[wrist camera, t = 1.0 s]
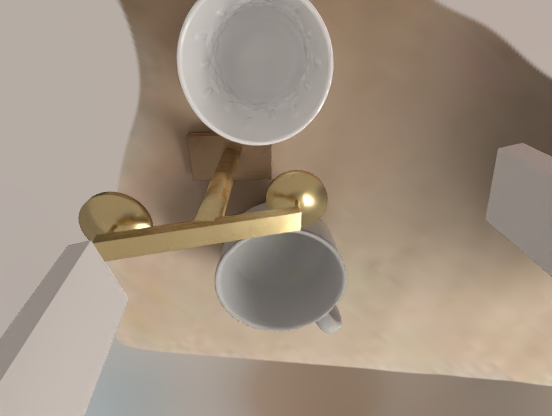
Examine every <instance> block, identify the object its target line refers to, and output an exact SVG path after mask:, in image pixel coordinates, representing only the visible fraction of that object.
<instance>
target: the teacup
mask: <svg viewBox="0 0 552 416" xmlns="http://www.w3.org/2000/svg"><path fill="white" fill-rule="evenodd" d="M266 210H267V207H266V203H262V204H259V205H257V206H254V207H252V208H250V209H249V210H247V211H246V212H244V213H243V214H245V213H252V212H259V211H266ZM345 285H346V269H345V265H344V263H343V260H342V258H341V256H340V254H339V253H338V250H337V248H336V245H335V243H334V240H333V238H332V236H331V234H330V232H329V230H328V228H327V226H326V225H325V224H324V222H323V221H322V220H321V219H320V218H319V219H318V220H317V221H316V222H314V223H312V224H310V225H308V226H305V227H301V230H298V231H292V232H286V233H280V234H273V235H267V236H261V237H255V238H248V239H242V240H236V241H230V242H224V245H223V249H222V253H221V257H220V261H219V263H218V265H217V269H216V274H215V289H216V293H217V296H218V299H219V301H220V302H221V304H222V306H223V307H224V309H225V310H226V311H227V312H228V313H229V314H230V315H231V316H232V317H233V318H235V319H236V320H238V321H240V322H242V323H244V324H245V325H247V326H250V327H253V328H255V329H259V330H265V331H279V332H281V331H290V330H295V329H299V328H302V327H304V326H307V325H310V324H312V323H314V322H316V324H317V325H318V326H319V328H320V329H321V330H322V331H324V332H325V333H333V332H335V331H336V330H338V329H339V328H340V326H341V324H342V320H341V315H340V312H339V310H338V308H337V306H336V304H337V303H338V302H339V300H340V298H341V296H342V294H343V292H344V289H345Z"/></svg>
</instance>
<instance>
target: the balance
mask: <svg viewBox="0 0 552 416" xmlns="http://www.w3.org/2000/svg"><path fill="white" fill-rule="evenodd" d="M187 143H188V150H189V156H190V163H191V169H192V176H193V180H211V181H210V184H209V186H208V188H207V191H206V193H205V195H204V198H203V200H202V202H201V205H200V207H199V210H198V212H197V214H196V217H195V219H194V221H189V222H182V223H175V224H168V225H161V226H154V227H153V222H152V218H151V216H150V214H149V213H148V211H147V210H146V208H145V207H144V206H143V205H142V204H141V203H139V202H138V201H137V200H135V199H134V198H132V197H130V196H128V195H125V194H122V193H117V192H103V193H99V194H96V195H95V196H93V197H92V198H90V199H89V200H88V201H87V202H86V203H85V204H84V205H83V206H82V208H81V210H80V212H79V224H80V227H81V230H82V232H83V233H84V235H85V236H86V237H87V239H88V240H89V241H90V240H91V241H92V243H93V244H94V246H95V247H96V249H97V250H98V252H99V254H100V255H101V257H102V258H103V260H104V261H111V260H117V259H123V258H130V257H136V256H142V255H148V254H155V253H161V252H167V251H173V250H180V249H186V248H192V247H198V246H205V245H211V244H217V243H223V242H230V241H236V240H242V239H248V238H255V237H261V236H267V235H273V234H280V233H286V232H292V231H298V230H301V227H305V226H308V225H310V224H312V223H314V222H316V221H317V220H318V219H319V218H320V217H321V216H322V215H323V213H324V212H325V210H326V207H327V202H328V197H327V192H326V189H325V187H324V184H323V183H322V181H321V180H320V179H319V178H318V177H316V176H315V175H313V174H312V173H309V172H306V171H302V170H293V171H288V172H285V173H283V174H281V175H279V176H278V177H276V178H275V179H274V180H273V181H272V182H271V184H270V185H269V187H268V190H267V194H266V207H267V210H266V211H259V212H252V213H245V214H238V215H231V216H224V215H225V212H226V208H227V204H228V201H229V197H230V193H231V190H232V186H233V182H234V180H255V179H271V144H269V145H246V144H241V143H237V142H234V141H231V140H229V139H226V138H224V137H222V136H221V135H219V134H217V133H216V132H190V133H189V134H188V135H187Z"/></svg>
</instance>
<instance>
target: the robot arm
mask: <svg viewBox="0 0 552 416" xmlns="http://www.w3.org/2000/svg"><path fill="white" fill-rule="evenodd" d="M485 220H486V221H487V222H488V223H489V224H491V225H492V226H493V227H494V228H495V229H496V230H498V231H499V232H500V233H501V234H502V235H503V236H505V237H506V238H507V239H508V240H509V241H510V242H512V243H513V244H514V245H515V246H516V247H517V248H519V249H520V250H521V251H522V252H523V253H525V254H526V255H527V256H528V257H529V258H530V259H532V260H533V261H534V262H535V263H536V264H537V265H539V266H540V267H541V268H542V269H543V270H544V271H546V272H547V273H548V274H549V275H550V276H551V277H552V156H550V155H548V154H546V153H543V152H541V151H539V150H537V149H535V148H533V147H531V146H529V145H526V144H524V143H519V144H515V145H510V146H506V147H501V148H498V151H497V157H496V162H495V168H494V173H493V179H492V184H491V190H490V196H489V201H488V207H487V212H486V218H485ZM128 300H129V298H128V296H127V295H126V293H125V292H124V290H123V289H122V287H121V286H120V284H119V283H118V281H117V280H116V278H115V277H114V275H113V273H112V272H111V270H110V269H109V267H108V266H107V264H106V263H105V261H104V260H103V258H102V257H101V255H100V254H99V252H98V250H97V249H96V247H95V246H94V244H93V243H92V241H91V240H90V241H85V242H81V243H77V244H72V245H68V246H67V247H66V249H65V250H64V252H63V253H62V254H61V256H60V257H59V258H58V260H57V261H56V262H55V264H54V265H53V267H52V268H51V270H50V271H49V272H48V274H47V275H46V276H45V278H44V279H43V280H42V282H41V283H40V285H39V286H38V287H37V289H36V290H35V292H34V293H33V294H32V296H31V297H30V298H29V300H28V301H27V302H26V304H25V305H24V307H23V308H22V309H21V311H20V312H19V314H18V315H17V316H16V318H15V319H14V320H13V322H12V323H11V324H10V326H9V327H8V329H7V330H6V332H5V333H4V334H3V336H2V337H1V338H0V416H84V415H85V412H86V410H87V407H88V404H89V402H90V399H91V397H92V394H93V391H94V389H95V386H96V383H97V381H98V378H99V375H100V373H101V370H102V368H103V365H104V362H105V360H106V357H107V354H108V352H109V349H110V347H111V344H112V341H113V339H114V336H115V334H116V331H117V328H118V326H119V323H120V320H121V318H122V315H123V313H124V310H125V307H126V305H127V302H128Z"/></svg>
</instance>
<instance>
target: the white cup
mask: <svg viewBox="0 0 552 416" xmlns="http://www.w3.org/2000/svg"><path fill="white" fill-rule="evenodd" d="M177 70H178V76H179V80H180V84H181V87H182V90H183V93H184V95H185V97H186V99H187V101H188V103H189V105H190V106H191V108H192V109H193V111H194V112H195V114H196V115H197V116H198V117H199V118H200V120H201V121H202V122H203V123H204V124H205V125H207V126H208V127H209V128H210V129H211V130H213V131H214V132H216V133H217V134H219V135H221V136H222V137H224V138H226V139H229V140H231V141H234V142H237V143H241V144H246V145H269V144H274V143H278V142H281V141H284V140H286V139H288V138H290V137H292V136H294V135H296V134H297V133H299V132H300V131H301V130H303V129H304V128H305V127H306V126H307V125H308V124H309V123H310V122H311V121H312V120H313V119H314V118H315V116H316V115H317V114H318V112H319V111H320V109H321V108H322V106H323V104H324V102H325V100H326V98H327V95H328V92H329V89H330V86H331V81H332V76H333V50H332V44H331V40H330V36H329V33H328V30H327V28H326V25H325V23H324V21H323V19H322V17H321V16H320V14H319V12H318V11H317V9H316V8H315V7H314V5H313V4H312V3H311V2H310V1H309V0H197V1H196V3H195V4H194V5H193V7H192V8H191V9H190V11H189V13H188V14H187V16H186V18H185V20H184V23H183V25H182V28H181V31H180V35H179V39H178V45H177Z"/></svg>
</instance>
